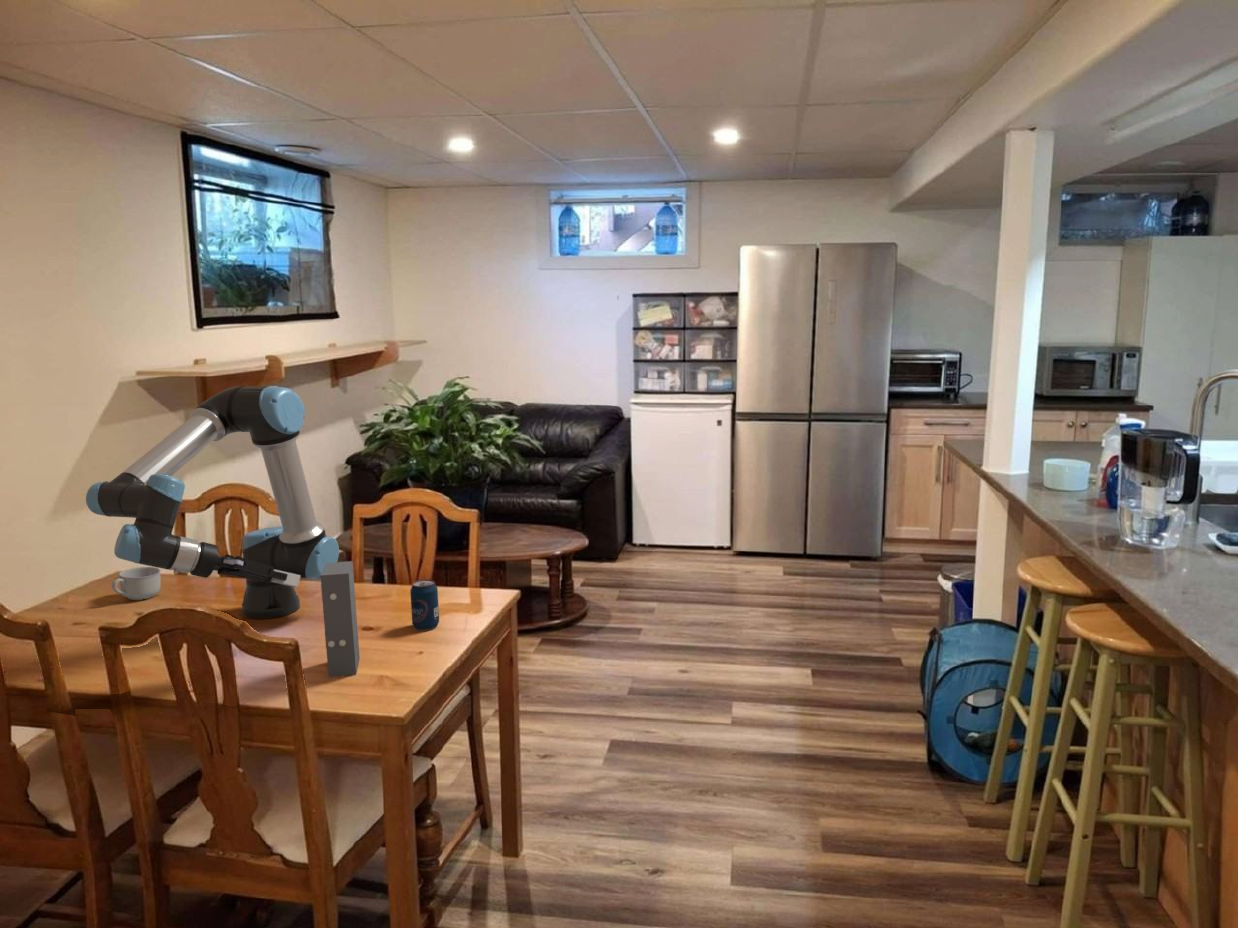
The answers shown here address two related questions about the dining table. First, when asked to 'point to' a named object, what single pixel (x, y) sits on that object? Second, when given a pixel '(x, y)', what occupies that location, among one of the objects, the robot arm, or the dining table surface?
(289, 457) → the robot arm
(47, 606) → the dining table surface
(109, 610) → the dining table surface
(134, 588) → the teacup
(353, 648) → the post
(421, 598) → the soda can
